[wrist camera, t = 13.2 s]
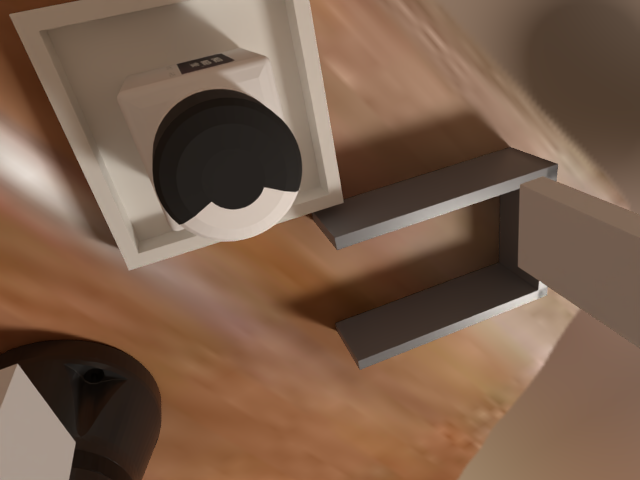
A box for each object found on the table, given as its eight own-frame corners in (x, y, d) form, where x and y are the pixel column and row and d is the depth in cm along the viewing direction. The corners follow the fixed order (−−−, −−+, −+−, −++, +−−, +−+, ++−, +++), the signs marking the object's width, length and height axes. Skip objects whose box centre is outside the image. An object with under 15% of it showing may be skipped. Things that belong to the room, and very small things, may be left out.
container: (122, 76, 28) (102, 114, 16) (243, 46, 29) (299, 63, 18) (168, 190, 31) (176, 283, 20) (272, 158, 33) (334, 229, 22)
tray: (130, 253, 33) (129, 270, 31) (21, 14, 25) (8, 14, 23) (332, 191, 36) (343, 202, 34) (290, -39, 28) (301, -44, 26)
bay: (337, 331, 43) (359, 369, 38) (311, 209, 36) (334, 238, 32) (506, 267, 46) (546, 295, 42) (510, 147, 40) (558, 164, 35)
